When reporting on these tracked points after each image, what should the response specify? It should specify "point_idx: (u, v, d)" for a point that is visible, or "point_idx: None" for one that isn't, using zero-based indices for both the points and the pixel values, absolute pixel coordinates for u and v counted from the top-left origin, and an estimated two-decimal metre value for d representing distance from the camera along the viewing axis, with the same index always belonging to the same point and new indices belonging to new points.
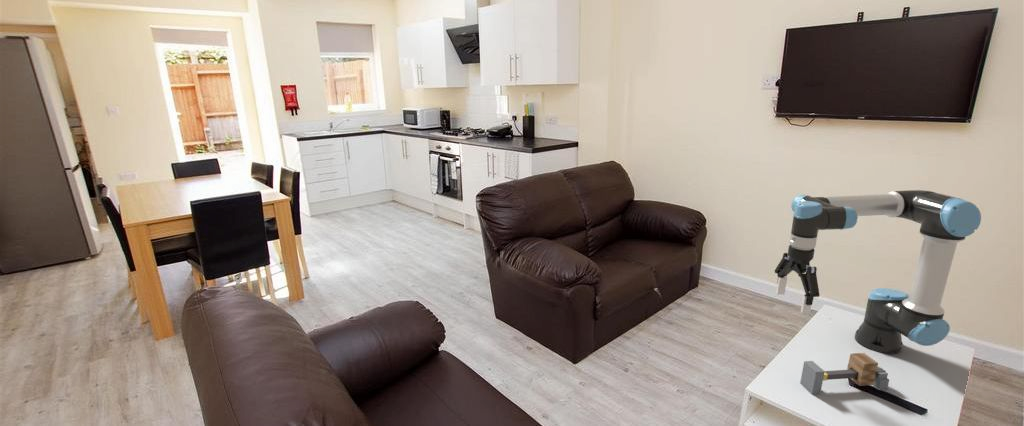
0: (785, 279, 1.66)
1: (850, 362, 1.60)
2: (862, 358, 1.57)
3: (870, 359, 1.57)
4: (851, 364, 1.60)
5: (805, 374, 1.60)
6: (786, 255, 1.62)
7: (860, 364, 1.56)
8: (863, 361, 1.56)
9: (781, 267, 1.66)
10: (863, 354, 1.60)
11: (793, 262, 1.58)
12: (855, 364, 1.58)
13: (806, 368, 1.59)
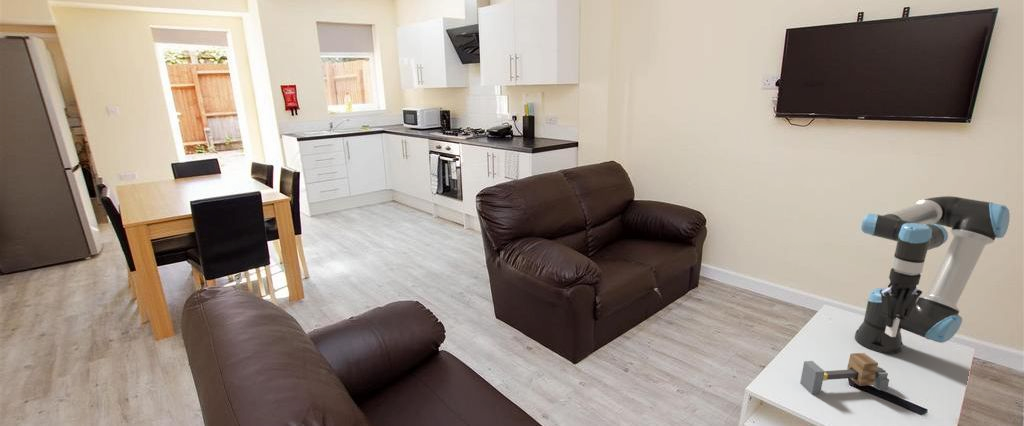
0: None
1: (850, 362, 1.60)
2: (862, 358, 1.57)
3: (870, 359, 1.57)
4: (851, 364, 1.60)
5: (805, 374, 1.60)
6: None
7: (860, 364, 1.56)
8: (863, 361, 1.56)
9: None
10: (863, 354, 1.60)
11: None
12: (855, 364, 1.58)
13: (806, 368, 1.59)
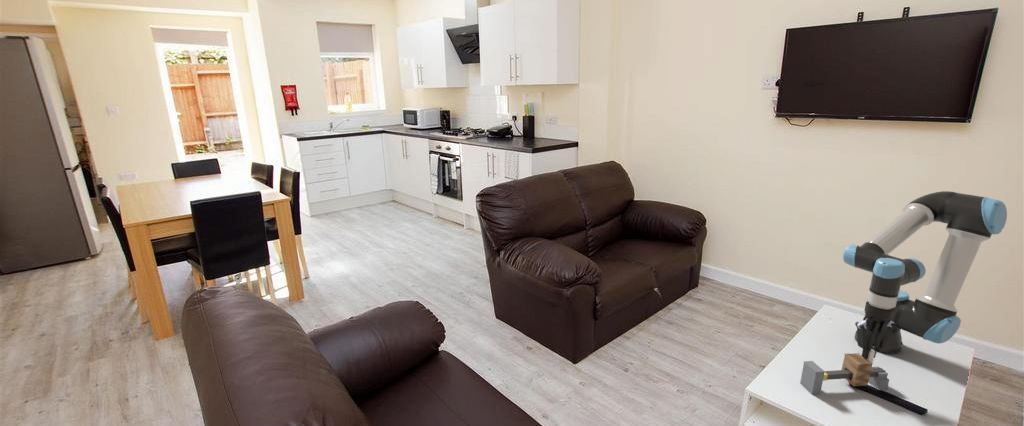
0: None
1: (845, 362, 1.60)
2: (856, 358, 1.57)
3: (864, 359, 1.57)
4: (845, 364, 1.60)
5: (805, 374, 1.60)
6: None
7: (854, 364, 1.56)
8: (858, 361, 1.56)
9: None
10: (857, 354, 1.59)
11: None
12: (850, 365, 1.58)
13: (806, 368, 1.59)
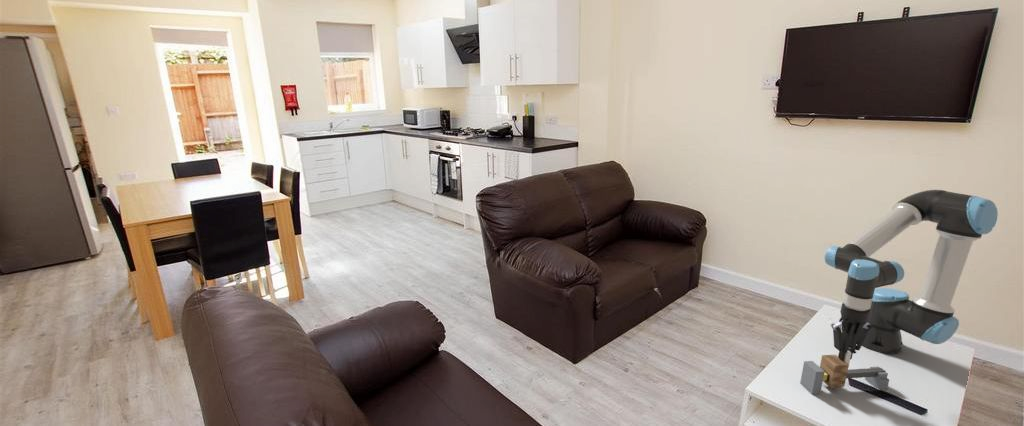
0: None
1: (822, 363, 1.60)
2: (833, 360, 1.57)
3: (841, 361, 1.56)
4: (823, 366, 1.59)
5: (805, 374, 1.60)
6: None
7: (831, 365, 1.55)
8: (834, 362, 1.55)
9: None
10: (835, 356, 1.59)
11: None
12: (826, 366, 1.58)
13: (806, 368, 1.59)
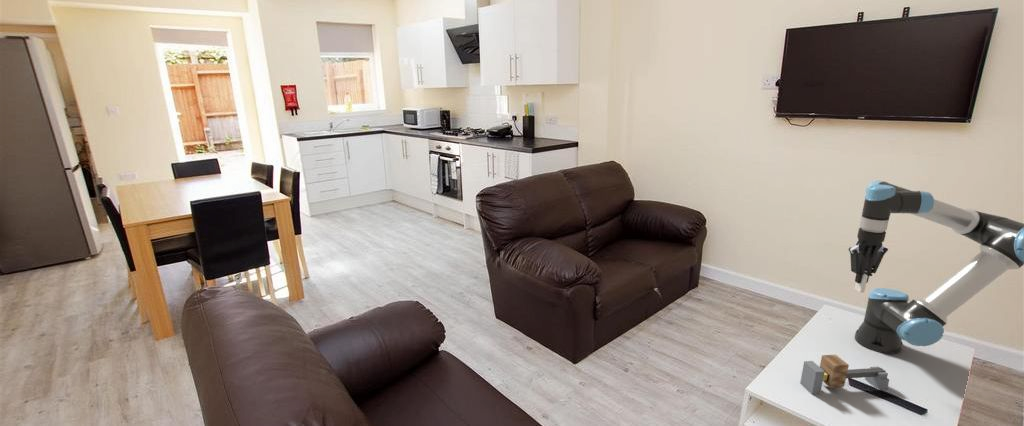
0: None
1: (822, 363, 1.60)
2: (833, 360, 1.57)
3: (841, 361, 1.56)
4: (822, 366, 1.59)
5: (805, 374, 1.60)
6: None
7: (831, 365, 1.55)
8: (834, 362, 1.55)
9: None
10: (834, 356, 1.59)
11: None
12: (826, 366, 1.58)
13: (806, 368, 1.59)
